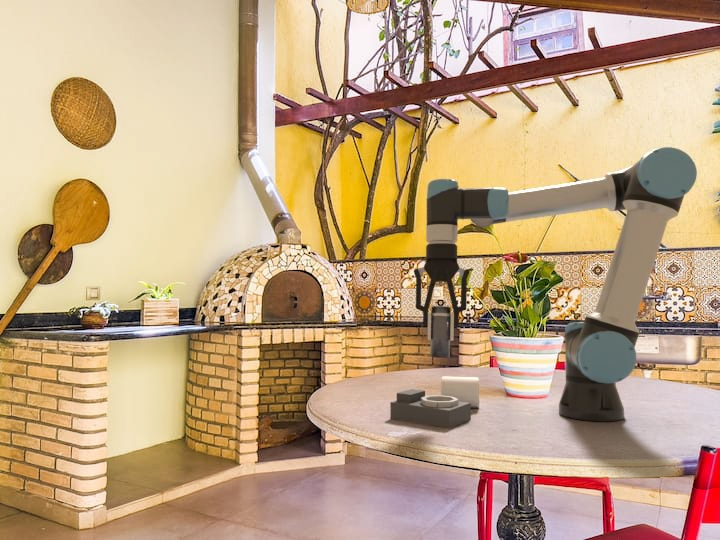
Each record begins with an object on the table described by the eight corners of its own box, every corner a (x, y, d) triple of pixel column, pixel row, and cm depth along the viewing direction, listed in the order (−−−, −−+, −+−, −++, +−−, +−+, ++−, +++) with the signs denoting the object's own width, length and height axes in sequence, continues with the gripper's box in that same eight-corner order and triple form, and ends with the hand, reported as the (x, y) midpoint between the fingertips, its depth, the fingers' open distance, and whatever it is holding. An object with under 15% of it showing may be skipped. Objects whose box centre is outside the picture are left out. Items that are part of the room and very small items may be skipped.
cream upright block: (479, 410, 146) (479, 379, 146) (440, 409, 148) (440, 378, 148) (478, 401, 158) (478, 373, 158) (443, 400, 160) (443, 372, 160)
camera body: (470, 419, 135) (470, 394, 136) (449, 428, 127) (449, 401, 127) (414, 411, 145) (413, 387, 145) (390, 418, 136) (390, 393, 136)
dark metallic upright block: (453, 356, 136) (454, 306, 136) (443, 358, 132) (445, 306, 132) (436, 354, 138) (437, 305, 139) (426, 356, 135) (427, 305, 135)
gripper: (477, 245, 139) (476, 339, 138) (405, 244, 141) (404, 337, 140) (480, 242, 131) (479, 342, 130) (404, 242, 134) (402, 340, 133)
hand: (440, 339), depth 135 cm, fingers closed on dark metallic upright block, 5 cm apart
